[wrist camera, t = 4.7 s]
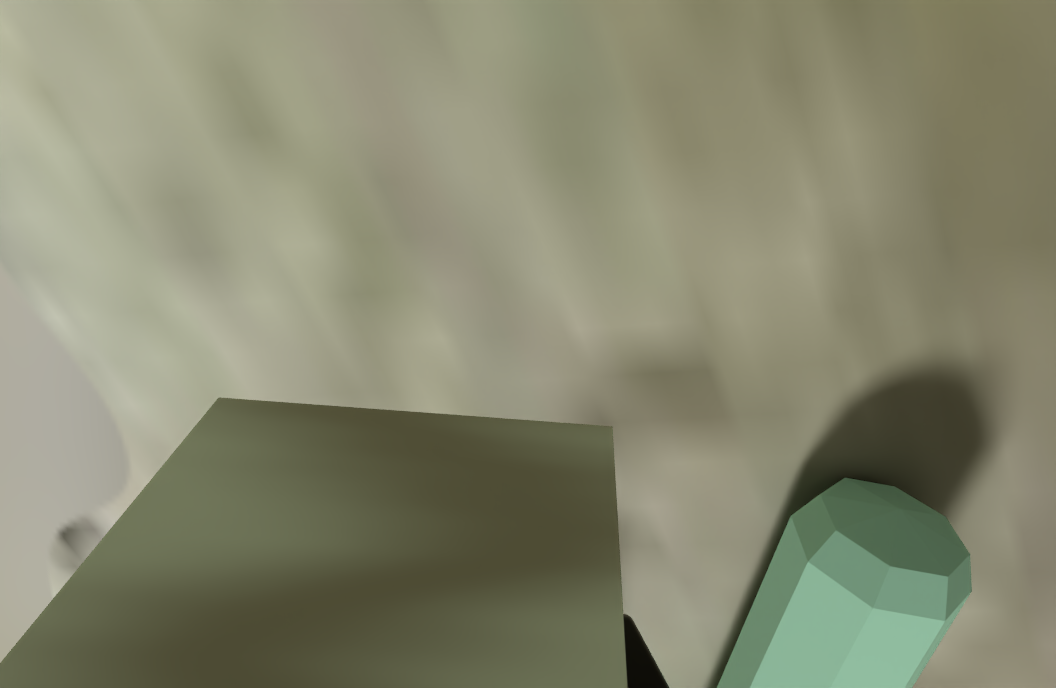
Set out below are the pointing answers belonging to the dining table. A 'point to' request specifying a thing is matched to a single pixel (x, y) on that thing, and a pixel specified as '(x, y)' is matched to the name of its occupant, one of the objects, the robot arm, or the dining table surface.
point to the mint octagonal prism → (853, 594)
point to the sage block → (350, 560)
